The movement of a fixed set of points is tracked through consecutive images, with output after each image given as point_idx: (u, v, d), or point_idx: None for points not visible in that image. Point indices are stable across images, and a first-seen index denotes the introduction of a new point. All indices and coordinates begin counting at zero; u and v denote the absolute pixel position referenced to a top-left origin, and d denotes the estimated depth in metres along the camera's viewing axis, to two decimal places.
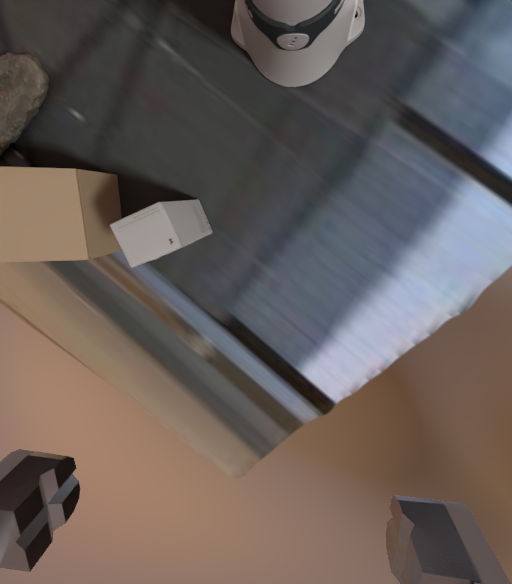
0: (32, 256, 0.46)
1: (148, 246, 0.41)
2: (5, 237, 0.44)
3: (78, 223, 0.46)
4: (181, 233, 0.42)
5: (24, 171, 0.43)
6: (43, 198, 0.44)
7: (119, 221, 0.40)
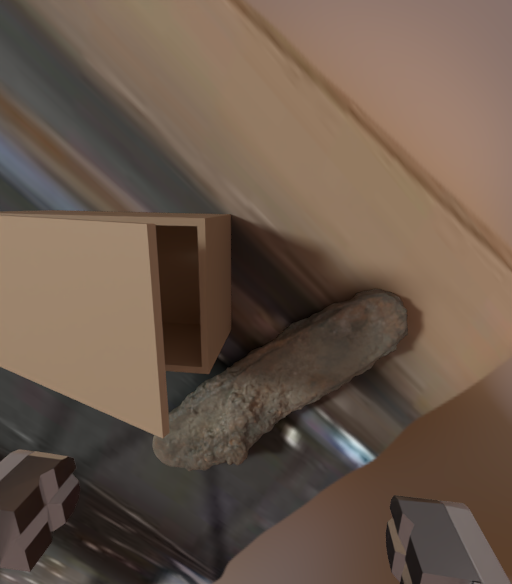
0: (6, 227, 0.22)
1: None
2: (39, 270, 0.21)
3: None
4: None
5: (29, 373, 0.25)
6: (8, 329, 0.25)
7: None
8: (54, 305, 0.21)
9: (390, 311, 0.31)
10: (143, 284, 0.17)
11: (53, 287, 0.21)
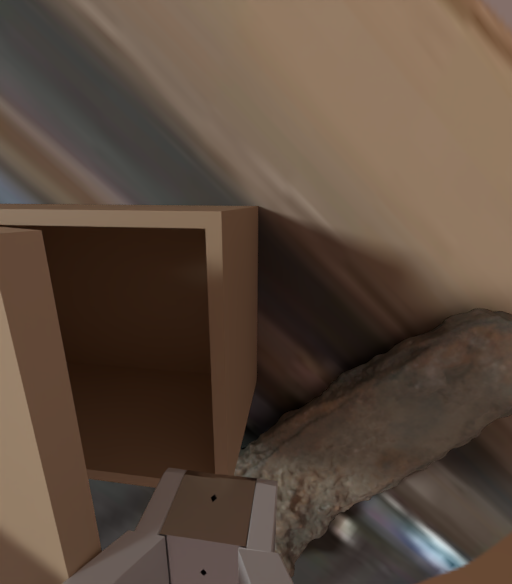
0: None
1: None
2: None
3: None
4: None
5: None
6: None
7: None
8: None
9: None
10: (20, 446, 0.05)
11: None
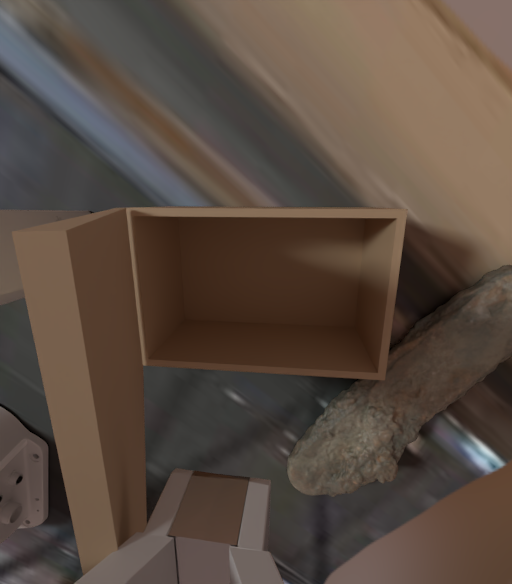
0: None
1: None
2: None
3: None
4: None
5: None
6: None
7: None
8: None
9: None
10: None
11: None
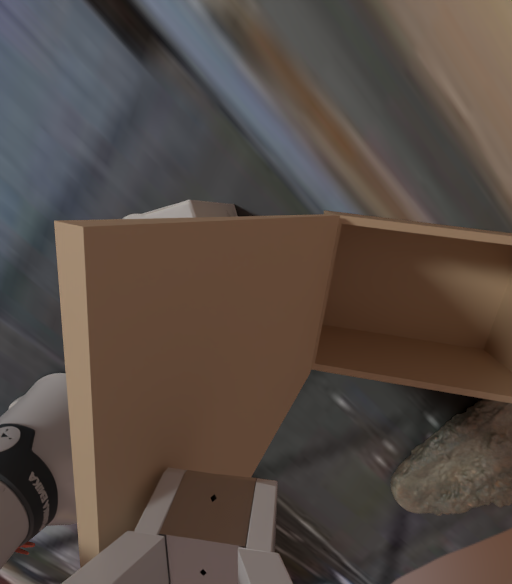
0: None
1: None
2: None
3: None
4: None
5: None
6: None
7: None
8: None
9: None
10: None
11: None
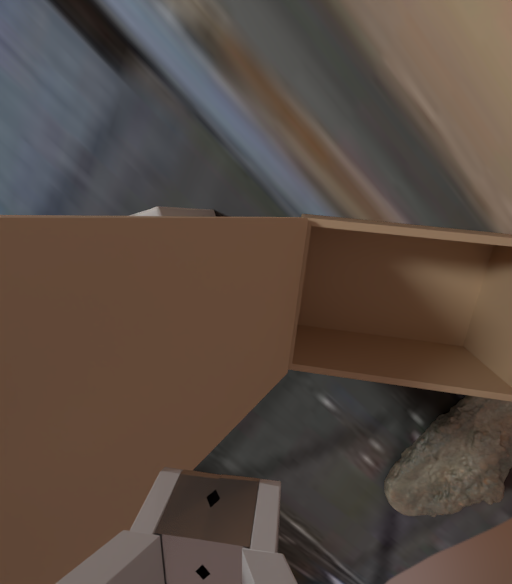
0: None
1: None
2: None
3: None
4: None
5: None
6: None
7: None
8: None
9: None
10: None
11: None
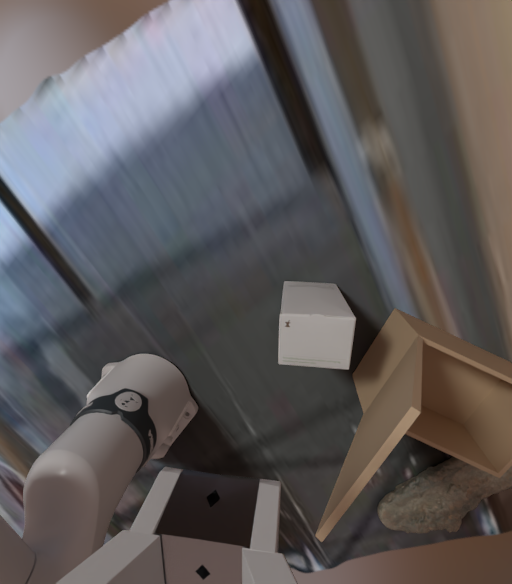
0: (411, 357, 0.31)
1: (317, 329, 0.33)
2: (394, 390, 0.29)
3: (392, 372, 0.38)
4: None
5: (355, 436, 0.35)
6: (373, 407, 0.36)
7: (334, 367, 0.34)
8: (380, 412, 0.29)
9: None
10: (384, 439, 0.21)
11: (387, 403, 0.28)
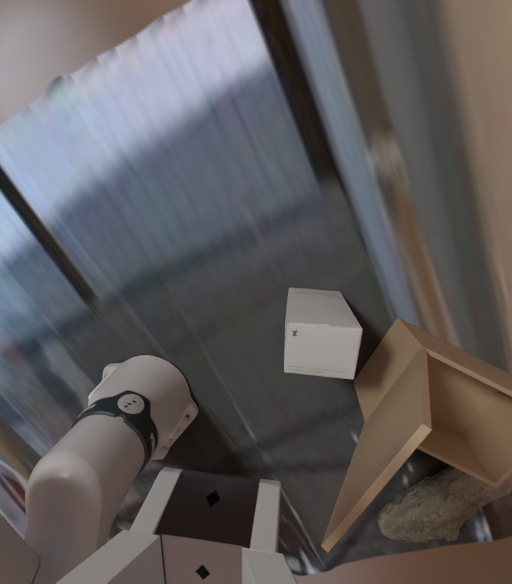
0: (417, 370, 0.31)
1: (323, 339, 0.34)
2: (400, 402, 0.30)
3: (395, 382, 0.39)
4: (286, 329, 0.36)
5: (357, 445, 0.36)
6: (376, 416, 0.36)
7: (339, 377, 0.35)
8: (385, 424, 0.29)
9: None
10: (394, 454, 0.21)
11: (393, 415, 0.29)
